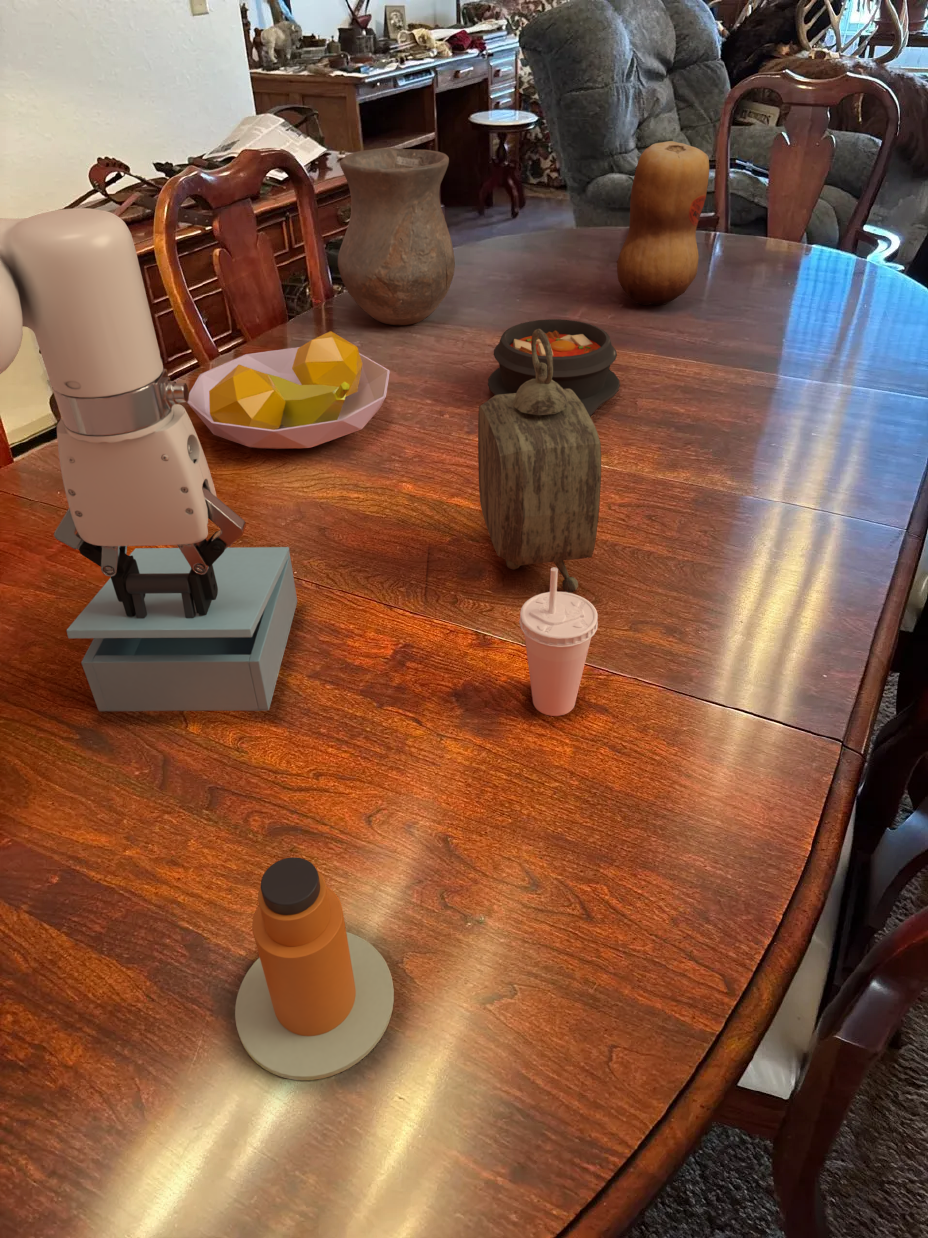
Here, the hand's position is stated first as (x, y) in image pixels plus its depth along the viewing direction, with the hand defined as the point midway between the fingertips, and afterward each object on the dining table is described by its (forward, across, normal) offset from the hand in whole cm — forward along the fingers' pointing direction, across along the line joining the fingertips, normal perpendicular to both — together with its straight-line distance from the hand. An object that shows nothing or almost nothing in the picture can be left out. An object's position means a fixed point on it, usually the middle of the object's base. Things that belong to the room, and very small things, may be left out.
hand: (170, 603), depth 76 cm
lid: (+2, 0, -4) cm, 5 cm away
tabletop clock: (+10, -31, -19) cm, 38 cm away
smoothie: (+10, -32, +2) cm, 34 cm away
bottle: (+9, -15, +30) cm, 34 cm away
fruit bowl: (+10, -2, -53) cm, 54 cm away
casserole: (+11, -37, -62) cm, 73 cm away
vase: (+11, -13, -94) cm, 96 cm away
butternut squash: (+11, -57, -100) cm, 116 cm away
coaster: (+10, -15, +30) cm, 34 cm away
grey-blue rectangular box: (+10, 0, -5) cm, 11 cm away
